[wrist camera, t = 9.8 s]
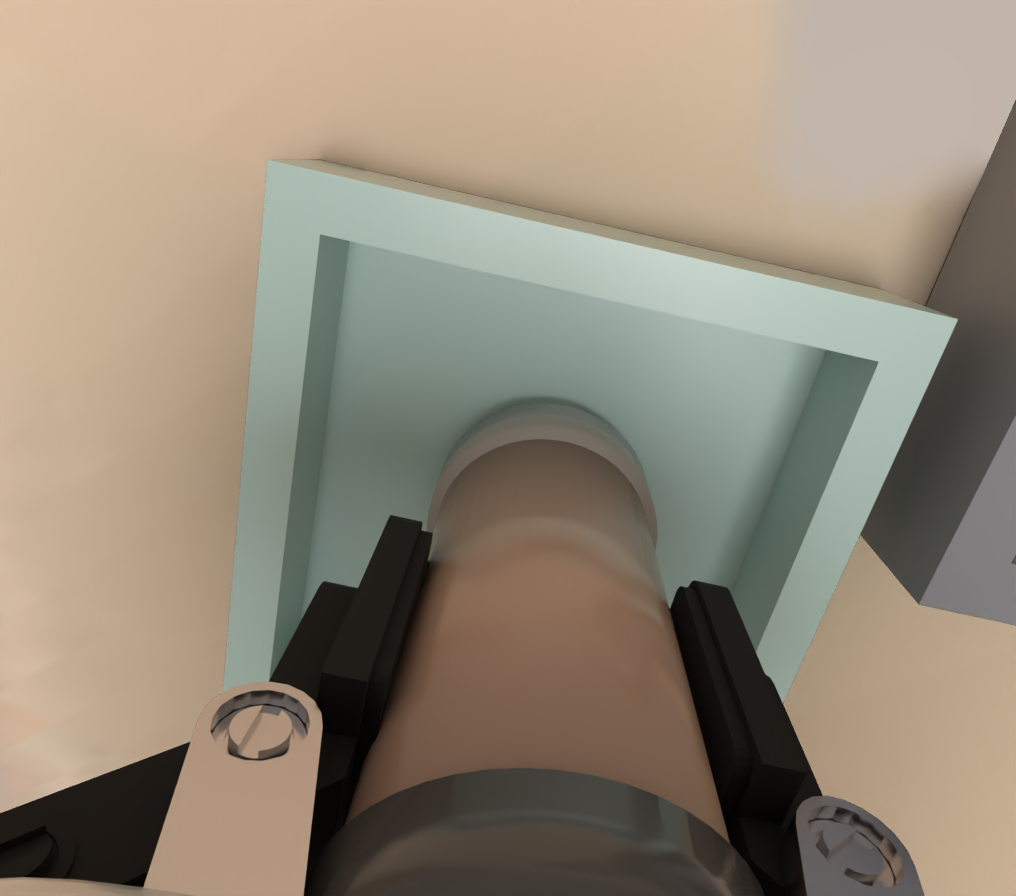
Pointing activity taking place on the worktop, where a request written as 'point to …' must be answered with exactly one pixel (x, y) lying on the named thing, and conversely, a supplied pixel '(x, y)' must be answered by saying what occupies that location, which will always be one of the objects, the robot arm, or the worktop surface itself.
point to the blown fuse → (538, 692)
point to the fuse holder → (964, 425)
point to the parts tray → (556, 392)
